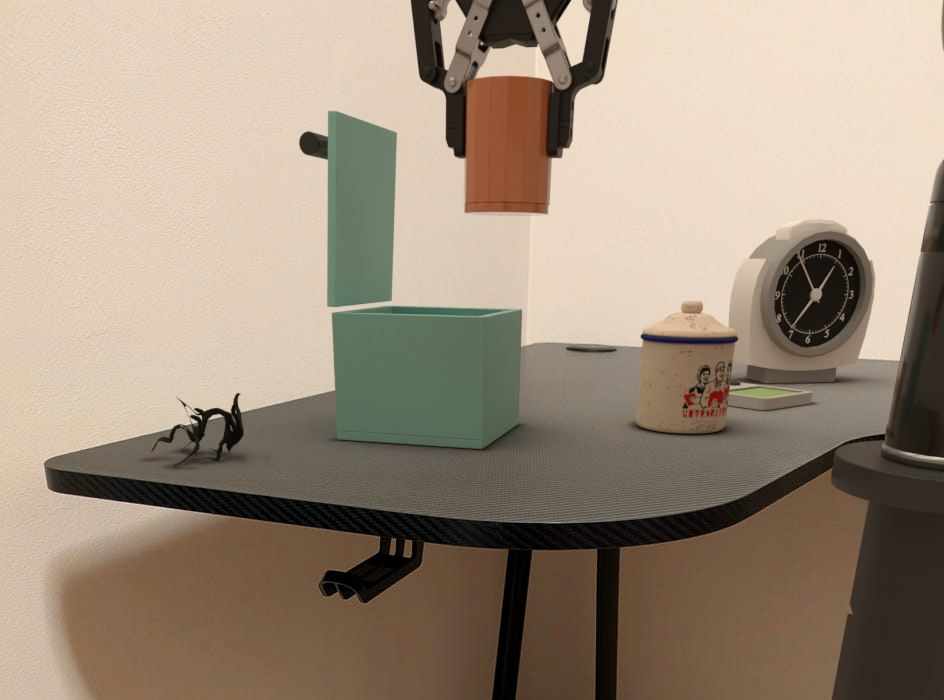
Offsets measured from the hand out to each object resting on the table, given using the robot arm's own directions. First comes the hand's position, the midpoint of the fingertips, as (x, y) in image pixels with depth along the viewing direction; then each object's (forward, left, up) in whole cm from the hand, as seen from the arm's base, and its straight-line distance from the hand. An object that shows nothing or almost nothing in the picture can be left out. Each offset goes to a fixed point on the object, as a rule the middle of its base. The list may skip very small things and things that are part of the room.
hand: (508, 156), depth 63 cm
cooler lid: (+16, -13, -3) cm, 21 cm away
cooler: (+10, -13, -22) cm, 27 cm away
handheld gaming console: (-17, -46, -22) cm, 54 cm away
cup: (0, 0, -4) cm, 4 cm away
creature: (+24, +5, -22) cm, 33 cm away
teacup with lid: (-13, -25, -22) cm, 36 cm away
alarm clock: (-24, -68, -22) cm, 76 cm away
